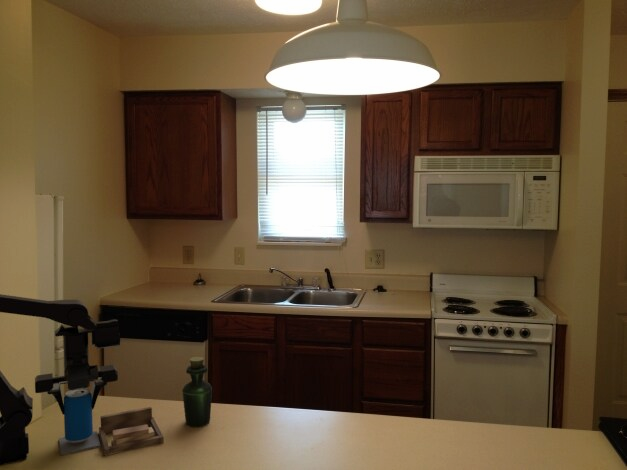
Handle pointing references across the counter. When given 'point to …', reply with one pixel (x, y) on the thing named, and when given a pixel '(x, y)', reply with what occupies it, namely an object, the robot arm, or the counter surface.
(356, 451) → the counter surface
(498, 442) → the counter surface
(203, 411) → the potion bottle
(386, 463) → the counter surface
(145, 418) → the rack
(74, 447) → the rubber mat
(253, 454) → the counter surface
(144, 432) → the offcut stack
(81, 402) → the beverage can
